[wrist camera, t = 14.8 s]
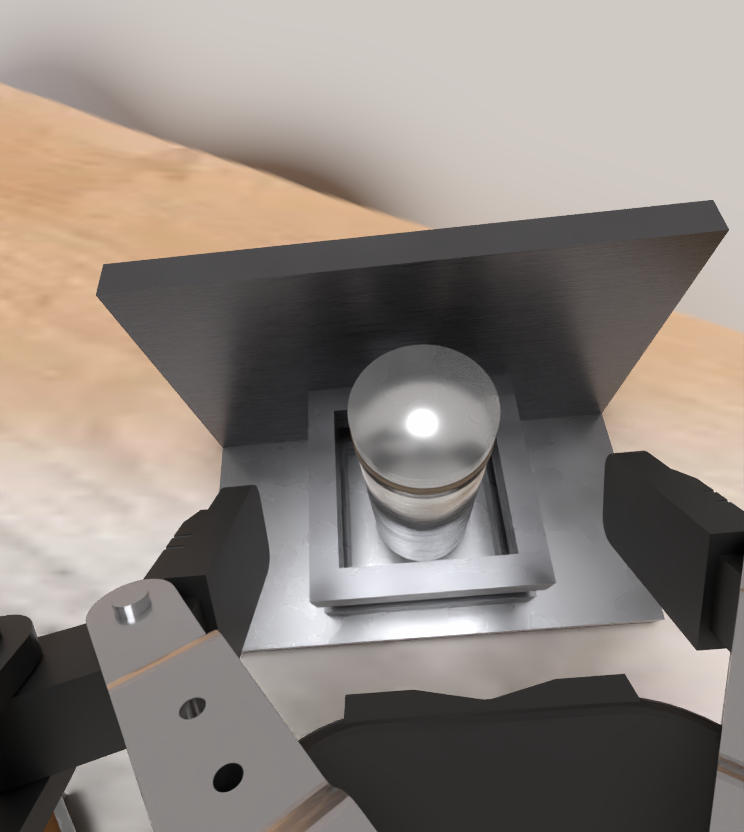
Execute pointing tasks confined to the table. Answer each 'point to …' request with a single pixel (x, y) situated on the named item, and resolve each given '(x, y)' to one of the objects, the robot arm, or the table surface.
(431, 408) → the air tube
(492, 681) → the table surface
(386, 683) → the table surface
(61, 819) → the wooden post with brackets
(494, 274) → the collar stand
